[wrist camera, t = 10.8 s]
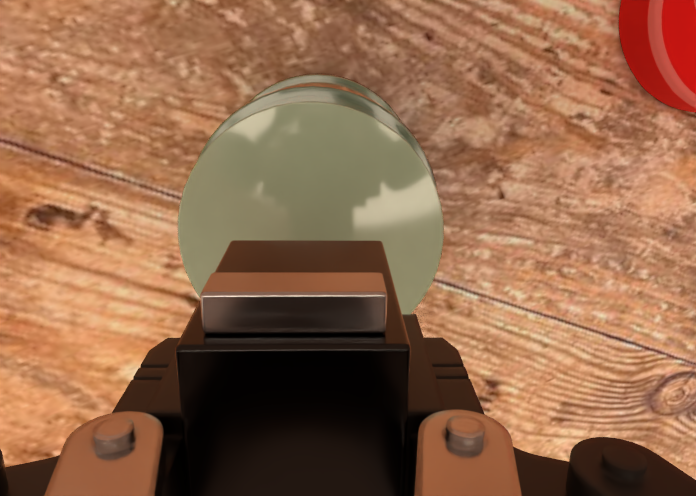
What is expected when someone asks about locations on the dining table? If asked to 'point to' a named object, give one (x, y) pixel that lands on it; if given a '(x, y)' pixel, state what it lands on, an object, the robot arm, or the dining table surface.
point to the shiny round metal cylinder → (315, 181)
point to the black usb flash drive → (296, 373)
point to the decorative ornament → (661, 48)
